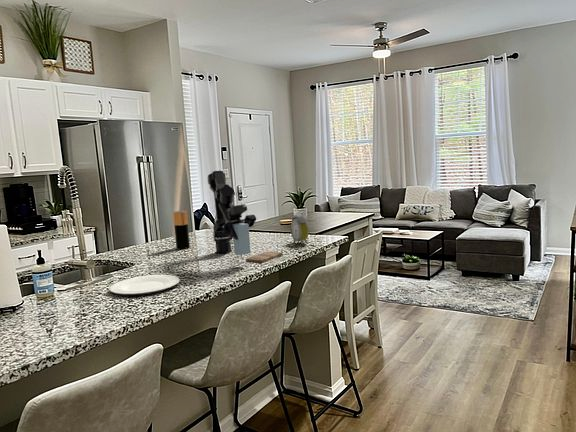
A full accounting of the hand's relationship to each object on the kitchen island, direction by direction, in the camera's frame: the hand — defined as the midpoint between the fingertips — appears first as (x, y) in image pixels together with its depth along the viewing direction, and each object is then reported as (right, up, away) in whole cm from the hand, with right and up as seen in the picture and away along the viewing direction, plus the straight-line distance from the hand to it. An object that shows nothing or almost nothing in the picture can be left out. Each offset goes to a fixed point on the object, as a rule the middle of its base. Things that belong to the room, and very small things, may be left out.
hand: (242, 238), depth 191 cm
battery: (-37, -8, +52) cm, 64 cm away
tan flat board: (+8, -10, +15) cm, 20 cm away
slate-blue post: (0, -6, +2) cm, 7 cm away
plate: (-34, -17, -23) cm, 44 cm away
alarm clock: (+26, -5, +46) cm, 54 cm away
